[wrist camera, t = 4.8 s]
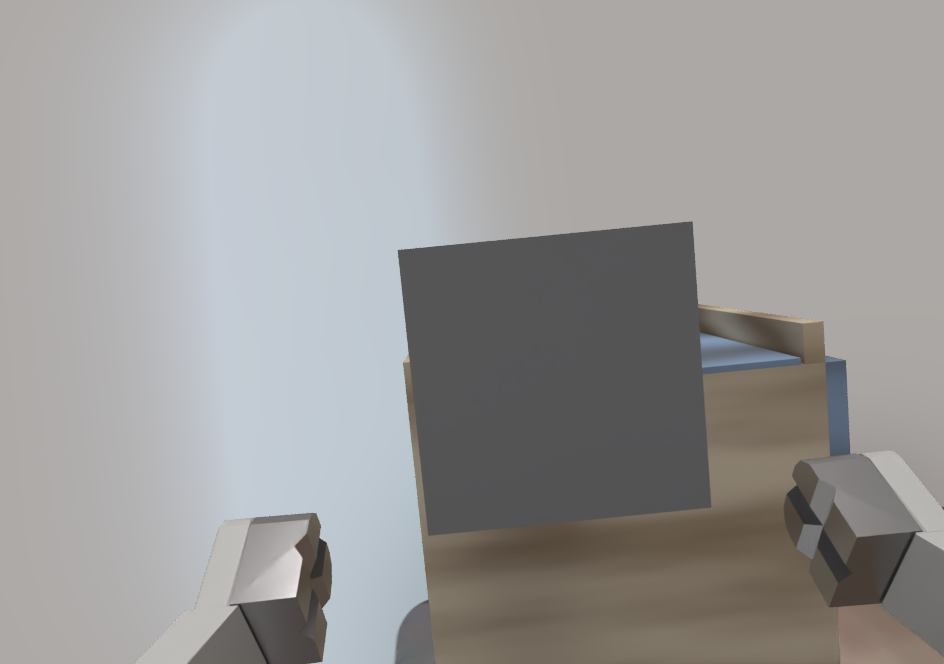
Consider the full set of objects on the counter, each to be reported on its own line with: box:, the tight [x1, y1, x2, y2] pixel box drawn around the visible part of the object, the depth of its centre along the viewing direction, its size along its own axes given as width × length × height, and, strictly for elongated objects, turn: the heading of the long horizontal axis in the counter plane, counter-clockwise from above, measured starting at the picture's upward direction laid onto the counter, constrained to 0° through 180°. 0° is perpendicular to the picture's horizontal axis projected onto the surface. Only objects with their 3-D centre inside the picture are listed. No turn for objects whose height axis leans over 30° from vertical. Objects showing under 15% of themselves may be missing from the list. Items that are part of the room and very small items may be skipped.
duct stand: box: [403, 304, 850, 664], centre depth 29 cm, size 18×13×27 cm
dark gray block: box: [398, 222, 711, 536], centre depth 22 cm, size 26×4×4 cm, turn 1°
